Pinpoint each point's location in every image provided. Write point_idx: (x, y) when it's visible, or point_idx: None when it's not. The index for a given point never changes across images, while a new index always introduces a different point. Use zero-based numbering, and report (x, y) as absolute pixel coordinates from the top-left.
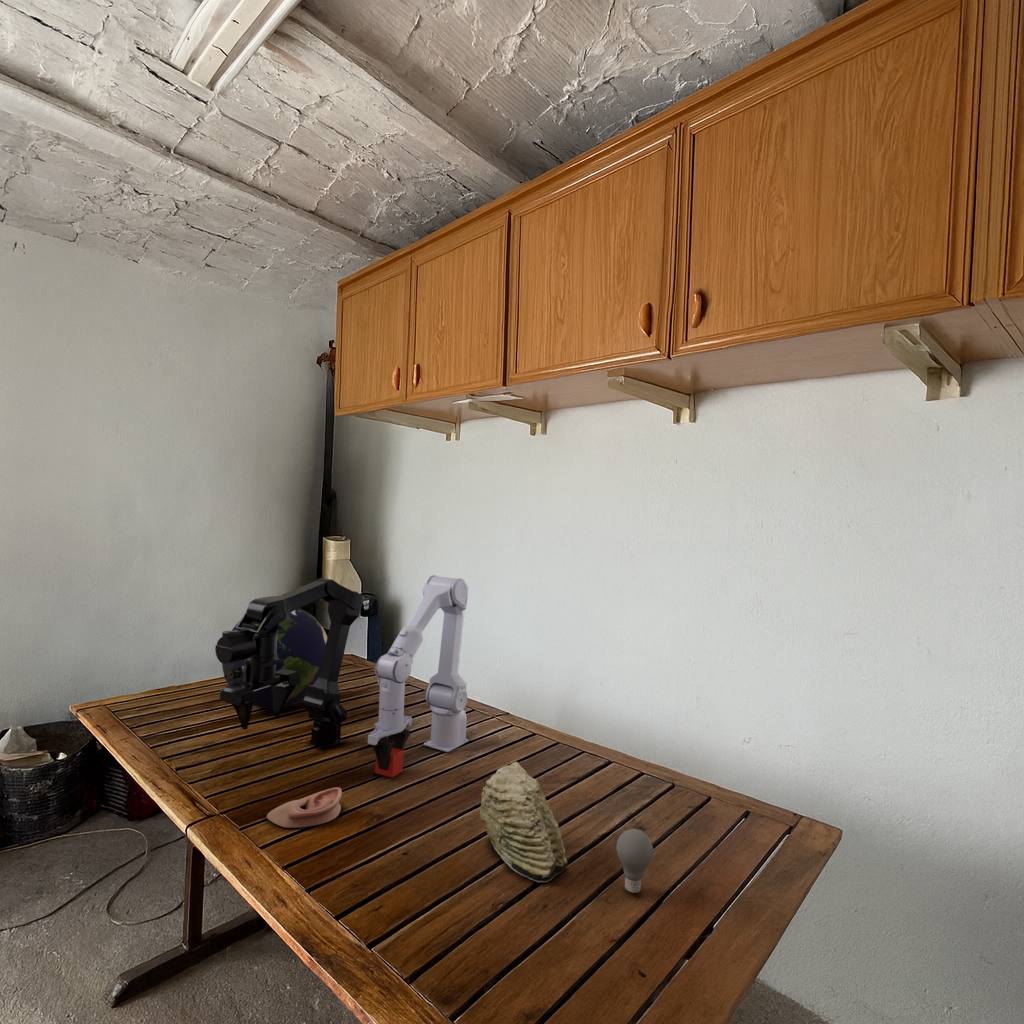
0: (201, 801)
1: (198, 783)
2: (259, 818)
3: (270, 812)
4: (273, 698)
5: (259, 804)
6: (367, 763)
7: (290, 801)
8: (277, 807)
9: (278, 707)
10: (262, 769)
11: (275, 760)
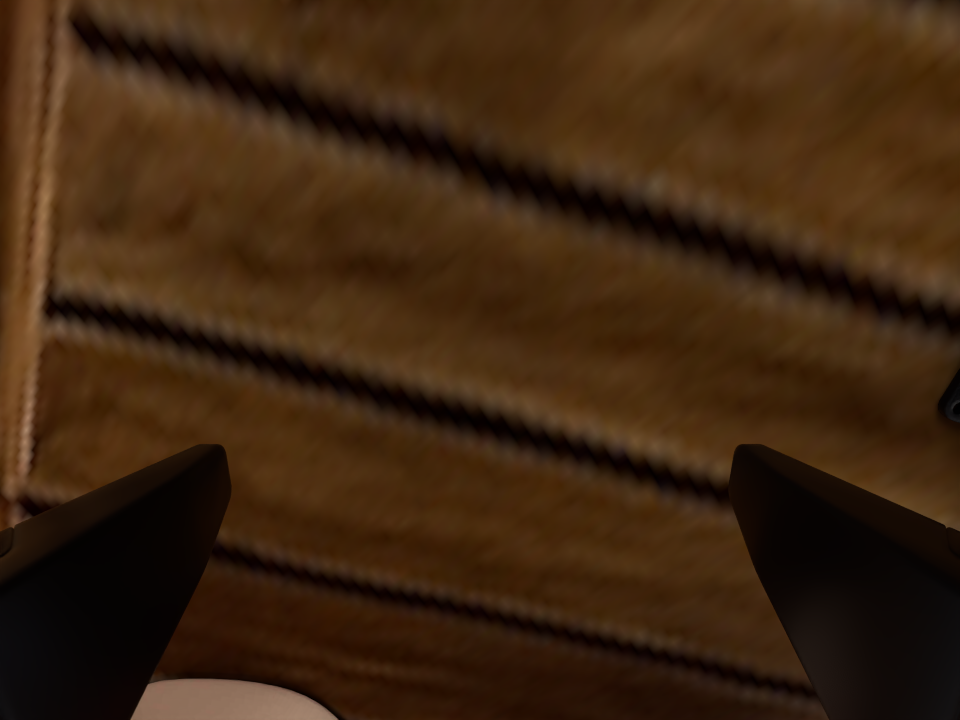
0: (9, 324)
1: (118, 93)
2: None
3: (145, 708)
4: (913, 571)
5: (199, 582)
6: None
7: (263, 718)
8: (187, 712)
9: (789, 598)
10: (510, 295)
11: (666, 261)
